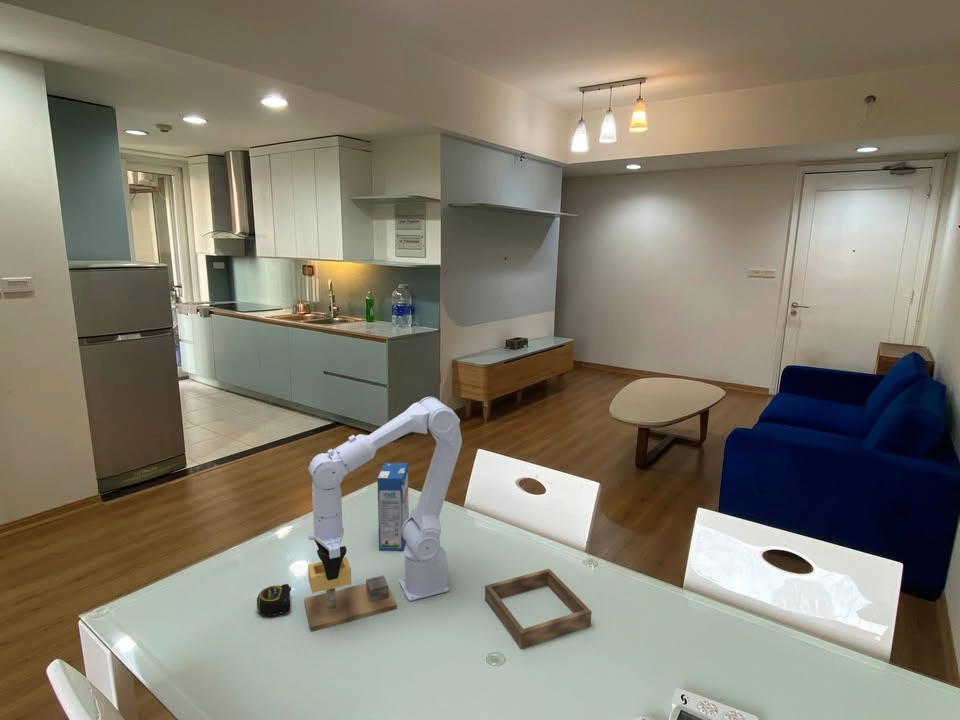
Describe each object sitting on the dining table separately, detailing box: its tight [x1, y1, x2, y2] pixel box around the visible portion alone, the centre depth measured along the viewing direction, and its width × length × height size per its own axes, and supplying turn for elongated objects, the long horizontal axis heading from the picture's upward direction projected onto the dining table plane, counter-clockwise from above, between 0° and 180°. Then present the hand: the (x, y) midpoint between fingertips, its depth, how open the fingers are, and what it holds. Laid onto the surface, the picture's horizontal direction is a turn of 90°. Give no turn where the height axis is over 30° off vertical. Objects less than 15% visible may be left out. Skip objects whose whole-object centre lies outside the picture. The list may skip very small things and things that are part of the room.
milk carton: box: [377, 462, 410, 552], centre depth 141 cm, size 10×6×20 cm, turn 179°
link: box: [307, 556, 352, 594], centre depth 114 cm, size 8×5×4 cm, turn 115°
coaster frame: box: [484, 568, 592, 650], centre depth 116 cm, size 16×16×4 cm
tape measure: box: [256, 583, 292, 617], centre depth 116 cm, size 7×7×4 cm
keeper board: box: [303, 575, 398, 632], centre depth 117 cm, size 18×10×5 cm, turn 115°
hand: (330, 571), depth 114 cm, fingers closed on link, 5 cm apart
